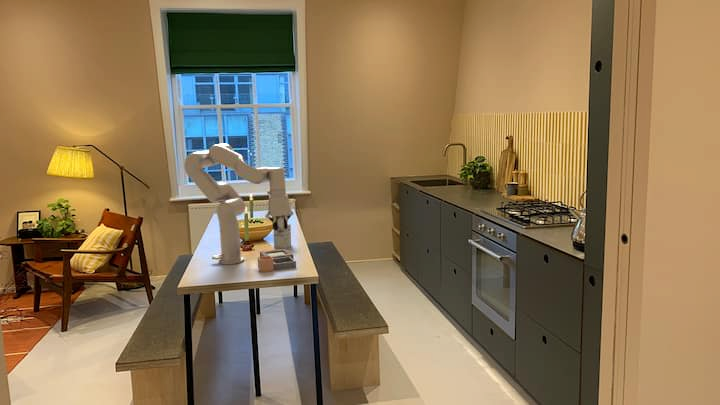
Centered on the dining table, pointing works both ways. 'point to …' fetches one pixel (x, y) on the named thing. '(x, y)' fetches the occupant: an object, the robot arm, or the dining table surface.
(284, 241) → the supplement box
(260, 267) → the orange open cube box
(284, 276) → the dining table surface
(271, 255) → the pale green square panel
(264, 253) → the box
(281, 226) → the cell
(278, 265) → the tray
